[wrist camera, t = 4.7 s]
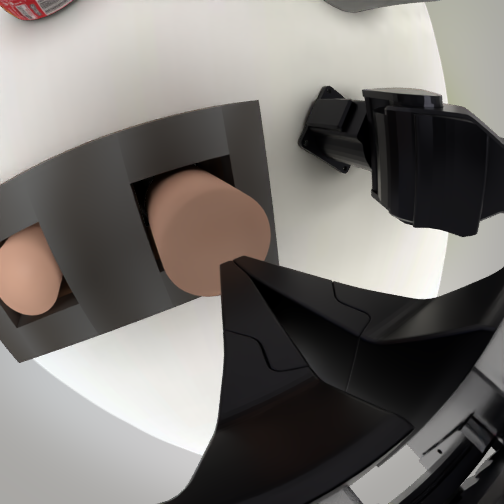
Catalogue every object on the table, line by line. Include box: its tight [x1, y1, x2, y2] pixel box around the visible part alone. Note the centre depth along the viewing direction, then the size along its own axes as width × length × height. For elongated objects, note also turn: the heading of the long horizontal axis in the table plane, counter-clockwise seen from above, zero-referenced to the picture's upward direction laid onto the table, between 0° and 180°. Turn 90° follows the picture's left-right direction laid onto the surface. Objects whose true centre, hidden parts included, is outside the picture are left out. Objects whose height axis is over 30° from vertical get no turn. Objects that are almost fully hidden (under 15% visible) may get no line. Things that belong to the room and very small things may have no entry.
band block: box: [0, 100, 279, 363], centre depth 15 cm, size 19×10×7 cm, turn 100°
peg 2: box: [145, 164, 271, 296], centre depth 13 cm, size 4×4×6 cm
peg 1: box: [0, 222, 63, 315], centre depth 13 cm, size 4×4×6 cm
